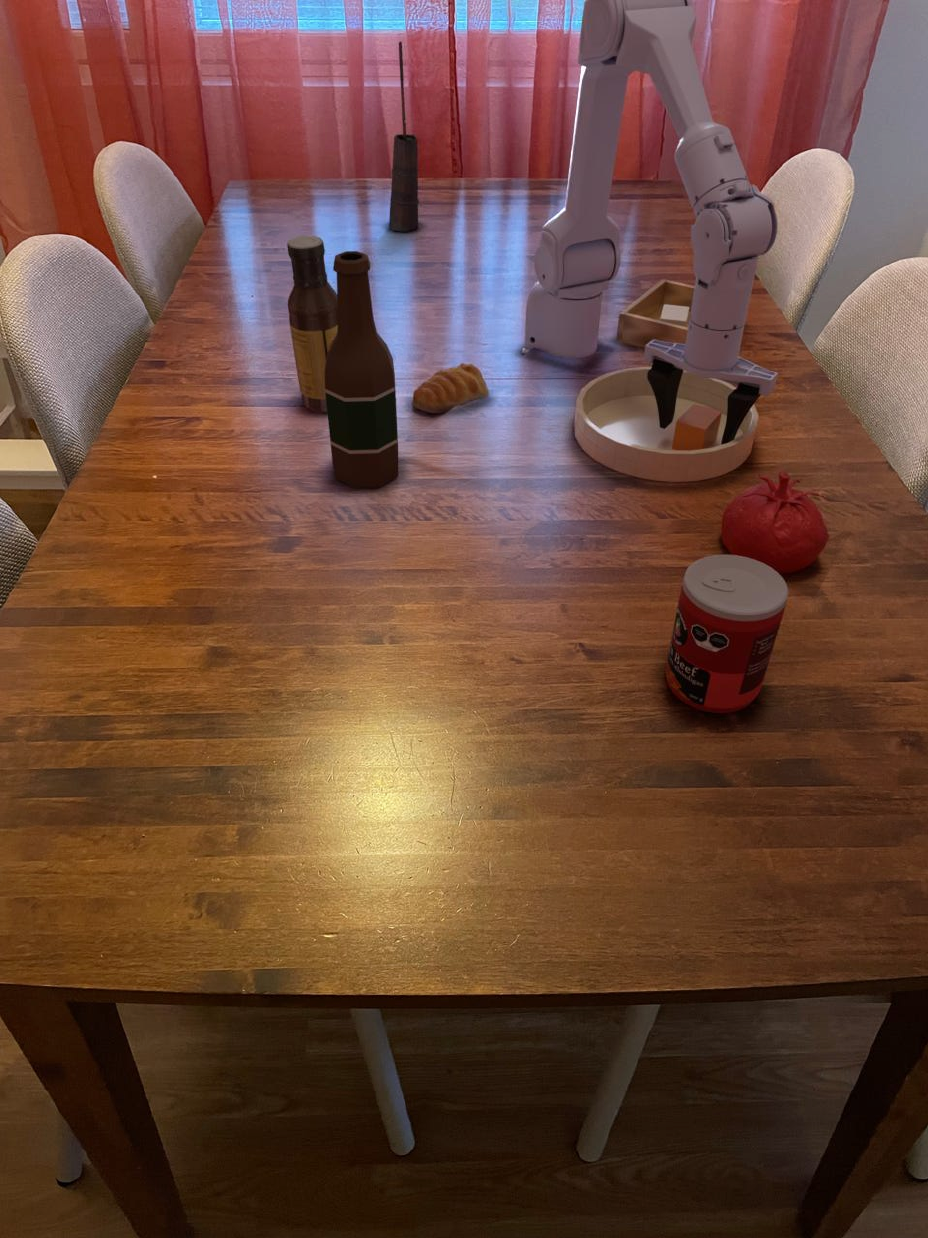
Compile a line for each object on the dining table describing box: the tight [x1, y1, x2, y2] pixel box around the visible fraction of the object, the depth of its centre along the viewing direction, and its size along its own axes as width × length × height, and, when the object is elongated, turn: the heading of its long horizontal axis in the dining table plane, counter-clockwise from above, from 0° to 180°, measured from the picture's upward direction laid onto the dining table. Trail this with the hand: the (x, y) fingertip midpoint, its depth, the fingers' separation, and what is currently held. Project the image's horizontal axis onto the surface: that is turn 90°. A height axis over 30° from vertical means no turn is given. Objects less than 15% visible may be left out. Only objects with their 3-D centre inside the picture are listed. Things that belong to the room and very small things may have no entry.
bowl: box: [573, 366, 760, 483], centre depth 110 cm, size 20×20×4 cm
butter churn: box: [388, 40, 420, 233], centre depth 156 cm, size 9×10×28 cm
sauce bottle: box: [286, 235, 338, 414], centre depth 111 cm, size 6×6×20 cm
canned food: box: [665, 554, 789, 714], centre depth 77 cm, size 8×8×11 cm
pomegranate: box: [720, 471, 830, 575], centre depth 91 cm, size 10×10×9 cm
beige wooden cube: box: [660, 304, 690, 327], centre depth 130 cm, size 4×5×4 cm
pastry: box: [412, 362, 489, 415], centre depth 117 cm, size 9×7×4 cm
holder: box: [615, 278, 695, 349], centre depth 132 cm, size 13×15×4 cm
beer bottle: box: [325, 250, 399, 489], centre depth 98 cm, size 8×8×24 cm
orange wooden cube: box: [672, 404, 722, 451], centre depth 108 cm, size 4×5×4 cm
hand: (696, 434), depth 108 cm, fingers open, 7 cm apart
